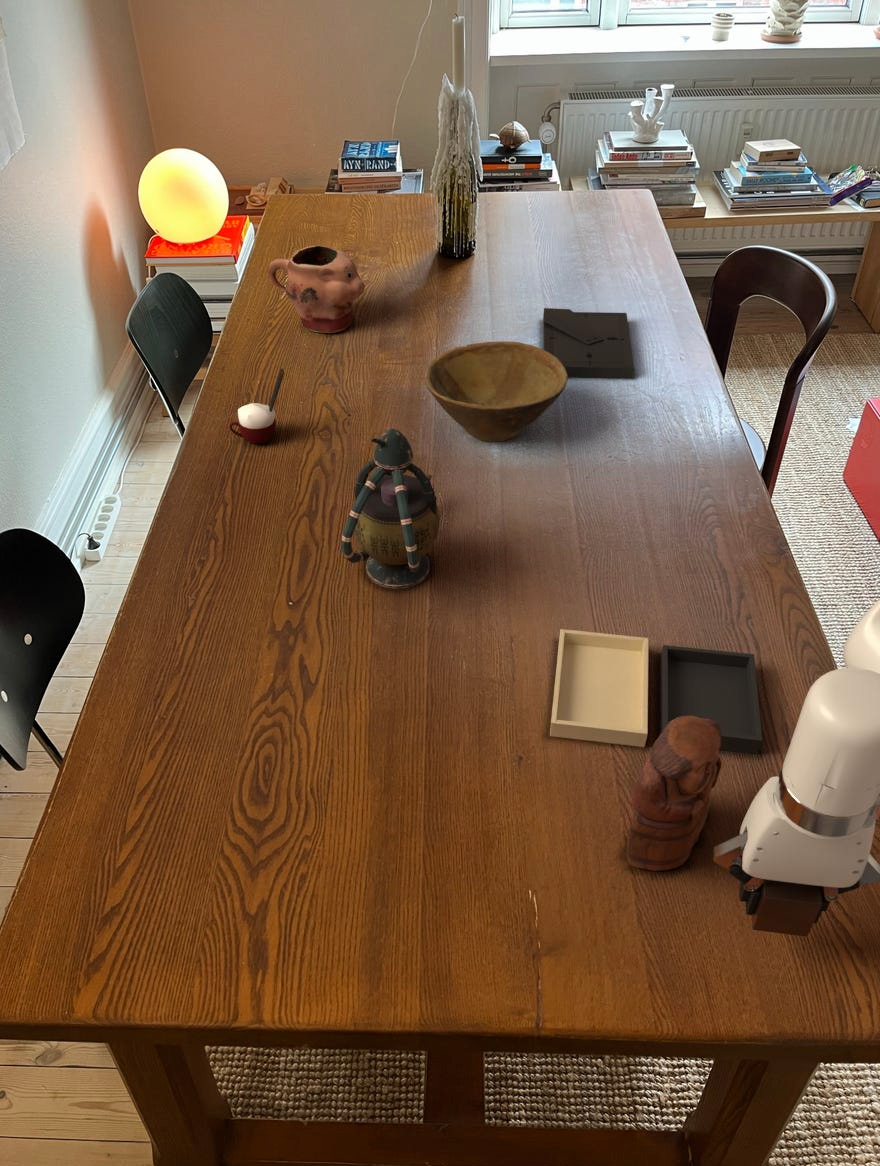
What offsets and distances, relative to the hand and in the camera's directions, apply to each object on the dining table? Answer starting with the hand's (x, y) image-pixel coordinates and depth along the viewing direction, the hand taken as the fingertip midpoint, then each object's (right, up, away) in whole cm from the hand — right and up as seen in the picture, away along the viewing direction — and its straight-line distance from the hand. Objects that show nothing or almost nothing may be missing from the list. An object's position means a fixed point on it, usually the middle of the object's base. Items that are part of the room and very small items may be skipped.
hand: (779, 904), depth 96 cm
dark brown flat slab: (-2, +80, +90) cm, 120 cm away
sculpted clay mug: (-52, +88, +101) cm, 143 cm away
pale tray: (-12, +19, +29) cm, 36 cm away
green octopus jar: (-36, +38, +50) cm, 72 cm away
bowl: (-21, +62, +73) cm, 97 cm away
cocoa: (-60, +59, +72) cm, 111 cm away
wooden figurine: (-7, +4, +13) cm, 16 cm away
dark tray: (+1, +18, +27) cm, 32 cm away
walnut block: (0, -1, +1) cm, 1 cm away
